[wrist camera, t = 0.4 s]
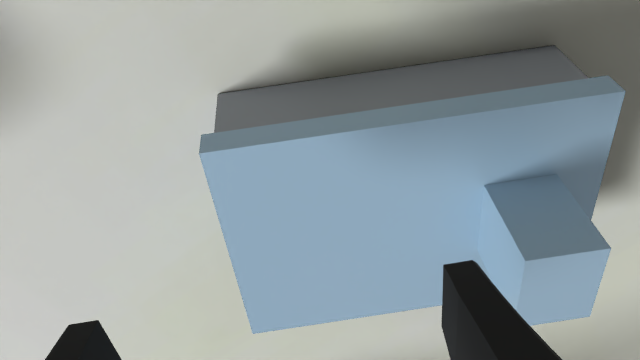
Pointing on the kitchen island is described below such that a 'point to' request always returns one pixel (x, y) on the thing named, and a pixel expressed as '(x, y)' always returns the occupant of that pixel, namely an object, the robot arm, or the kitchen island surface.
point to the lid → (418, 204)
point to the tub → (393, 87)
